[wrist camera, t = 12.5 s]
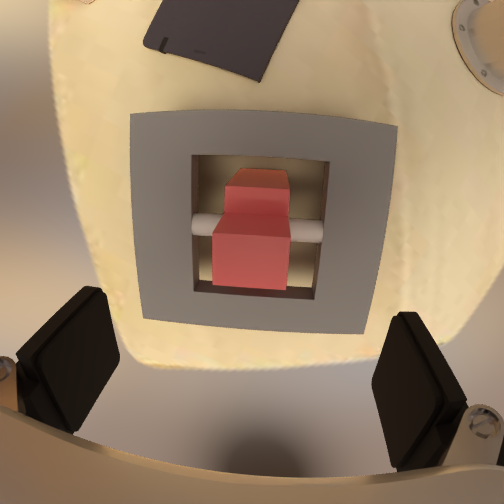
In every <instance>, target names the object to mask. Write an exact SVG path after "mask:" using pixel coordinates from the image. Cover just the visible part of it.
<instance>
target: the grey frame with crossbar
mask: <svg viewBox="0 0 504 504" xmlns="http://www.w3.org/2000/svg"><path fill="white" fill-rule="evenodd" d="M397 128H398V126H394V125H388V124H383V123H377V122H371V121H364V120H357V119H350V118H342V117H334V116H325V115H316V114H305V113H293V112H278V111H257V110H182V111H161V112H147V113H135V114H130V178H131V202H132V219H133V233H134V245H135V256H136V266H137V275H138V283H139V291H140V299H141V306H142V313H143V318H145V319H153V320H160V321H168V322H177V323H186V324H195V325H204V326H215V327H226V328H237V329H250V330H264V331H280V332H300V333H326V334H364V330H365V326H366V322H367V318H368V314H369V310H370V306H371V302H372V298H373V293H374V289H375V284H376V280H377V275H378V270H379V265H380V260H381V255H382V249H383V244H384V238H385V232H386V226H387V220H388V213H389V206H390V199H391V191H392V183H393V174H394V165H395V154H396V142H397ZM198 155H238V156H261V157H279V158H293V159H306V160H318V161H325V170H324V182H323V193H322V204H321V214H320V220H310V219H296V218H288V219H289V226H290V234H291V241H296V242H311V243H317V251H316V259H315V267H314V275H313V283H312V288H310V287H293V286H286V290H276V289H261V288H247V287H234V286H221V285H213V281H206V280H199V245H198V236H212V232H213V231H214V229H215V227H216V226H217V224H218V222H219V221H220V219H221V217H222V216H223V214H209V213H198Z"/></svg>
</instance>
